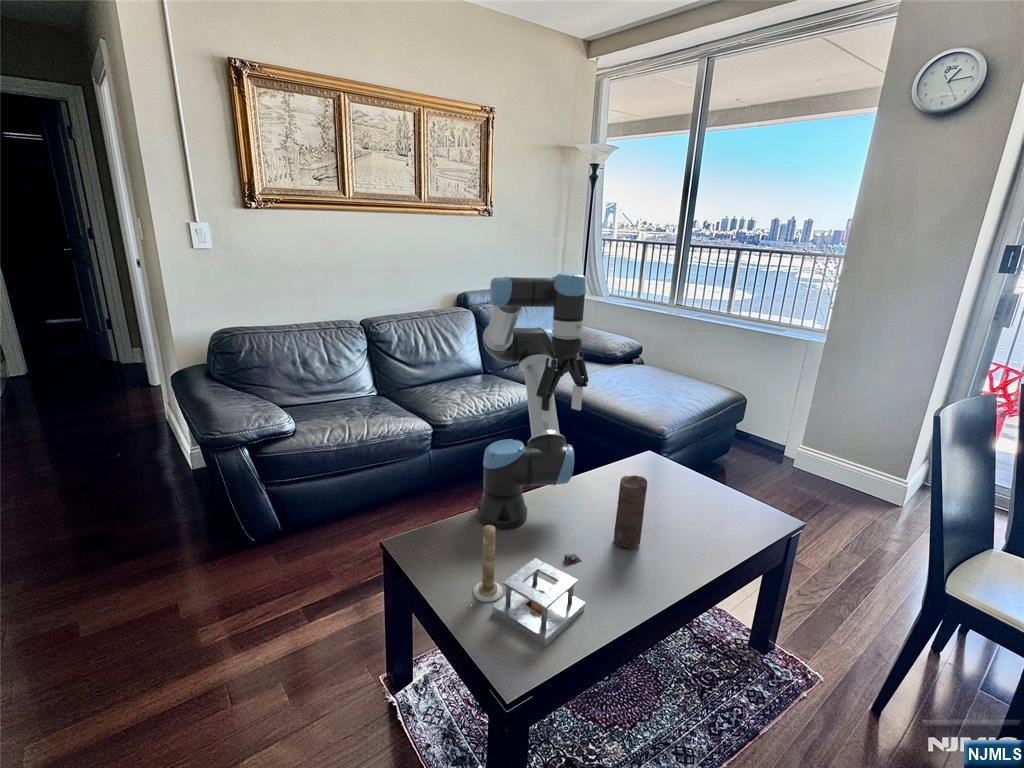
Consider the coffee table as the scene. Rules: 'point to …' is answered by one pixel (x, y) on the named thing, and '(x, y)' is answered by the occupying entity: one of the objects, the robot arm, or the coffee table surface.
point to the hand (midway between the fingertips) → (561, 415)
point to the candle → (630, 511)
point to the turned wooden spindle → (488, 562)
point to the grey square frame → (539, 602)
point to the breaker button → (535, 606)
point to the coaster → (488, 599)
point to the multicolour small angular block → (572, 558)
